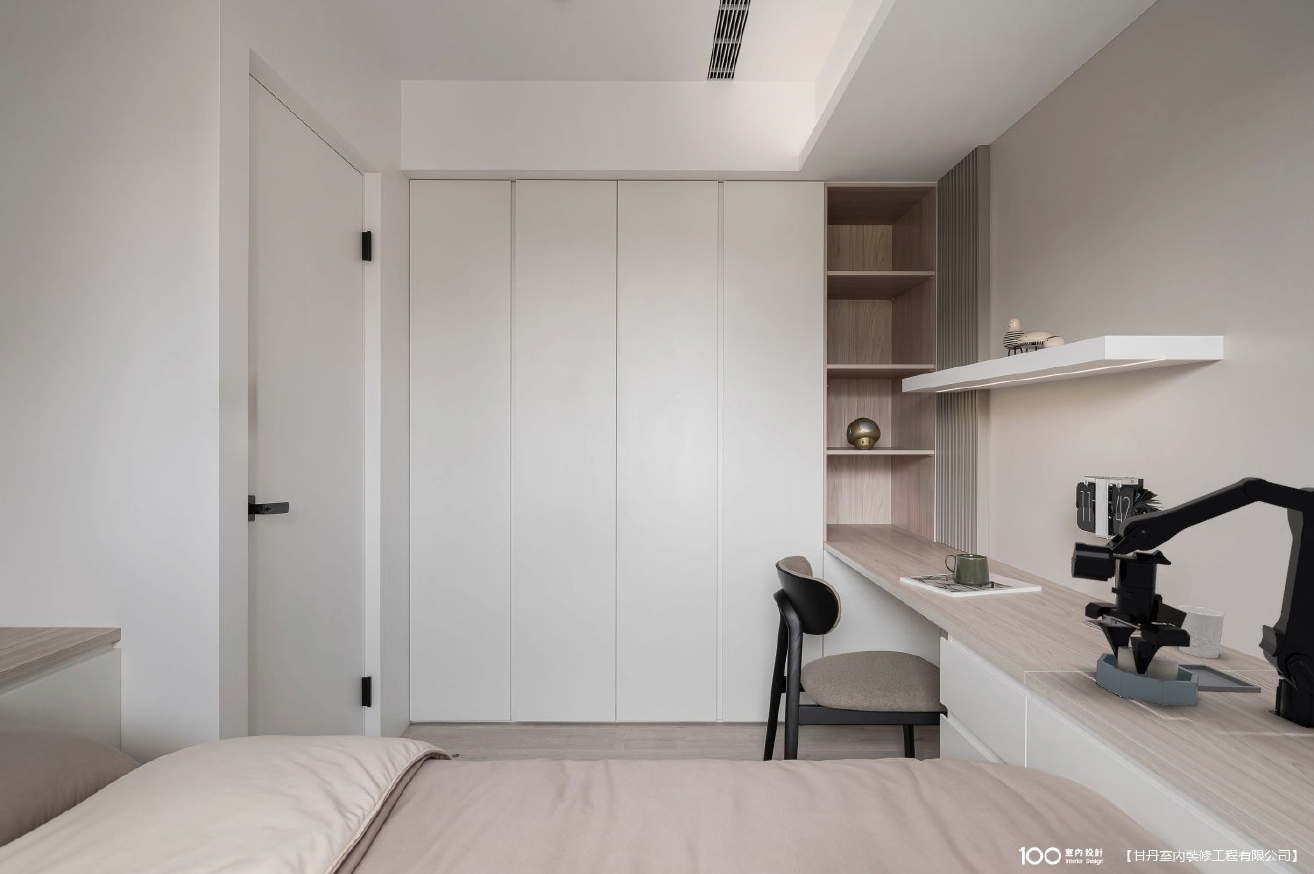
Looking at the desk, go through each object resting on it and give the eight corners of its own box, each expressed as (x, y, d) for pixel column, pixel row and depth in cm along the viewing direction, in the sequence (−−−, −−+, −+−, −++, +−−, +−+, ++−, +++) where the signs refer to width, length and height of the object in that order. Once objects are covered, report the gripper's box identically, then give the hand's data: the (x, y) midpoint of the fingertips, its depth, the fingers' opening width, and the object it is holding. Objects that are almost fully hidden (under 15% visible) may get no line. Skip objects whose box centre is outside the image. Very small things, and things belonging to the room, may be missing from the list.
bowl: (1218, 709, 117) (1220, 683, 117) (1137, 706, 116) (1139, 681, 116) (1152, 677, 131) (1153, 654, 131) (1080, 675, 131) (1081, 652, 131)
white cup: (1229, 663, 143) (1232, 617, 142) (1188, 659, 144) (1190, 613, 144) (1207, 651, 150) (1210, 607, 150) (1167, 647, 152) (1170, 604, 152)
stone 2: (1128, 680, 121) (1130, 653, 121) (1111, 671, 126) (1112, 645, 126) (1152, 681, 121) (1153, 654, 121) (1133, 672, 126) (1135, 646, 126)
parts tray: (1260, 695, 124) (1261, 687, 124) (1194, 693, 124) (1194, 685, 124) (1204, 671, 136) (1205, 664, 136) (1143, 669, 136) (1144, 662, 136)
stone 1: (1160, 690, 122) (1161, 663, 121) (1141, 681, 126) (1142, 655, 126) (1183, 691, 122) (1184, 664, 122) (1163, 682, 126) (1164, 655, 126)
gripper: (1223, 600, 114) (1217, 690, 115) (1139, 575, 133) (1134, 653, 133) (1161, 597, 114) (1155, 688, 114) (1085, 573, 132) (1080, 651, 133)
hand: (1131, 669), depth 124 cm, fingers closed on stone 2, 4 cm apart
